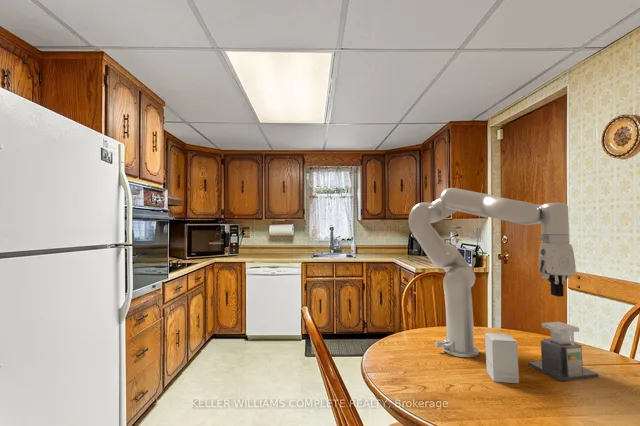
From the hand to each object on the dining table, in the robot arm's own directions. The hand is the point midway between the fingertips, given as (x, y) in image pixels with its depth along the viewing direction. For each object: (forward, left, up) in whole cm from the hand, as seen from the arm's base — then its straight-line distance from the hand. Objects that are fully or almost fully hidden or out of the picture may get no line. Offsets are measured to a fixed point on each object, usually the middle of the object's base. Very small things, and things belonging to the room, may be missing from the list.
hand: (557, 295), depth 107 cm
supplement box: (-22, 0, -25) cm, 33 cm away
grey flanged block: (0, -1, -19) cm, 19 cm away
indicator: (-1, -6, -18) cm, 19 cm away
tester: (0, 0, -24) cm, 24 cm away
